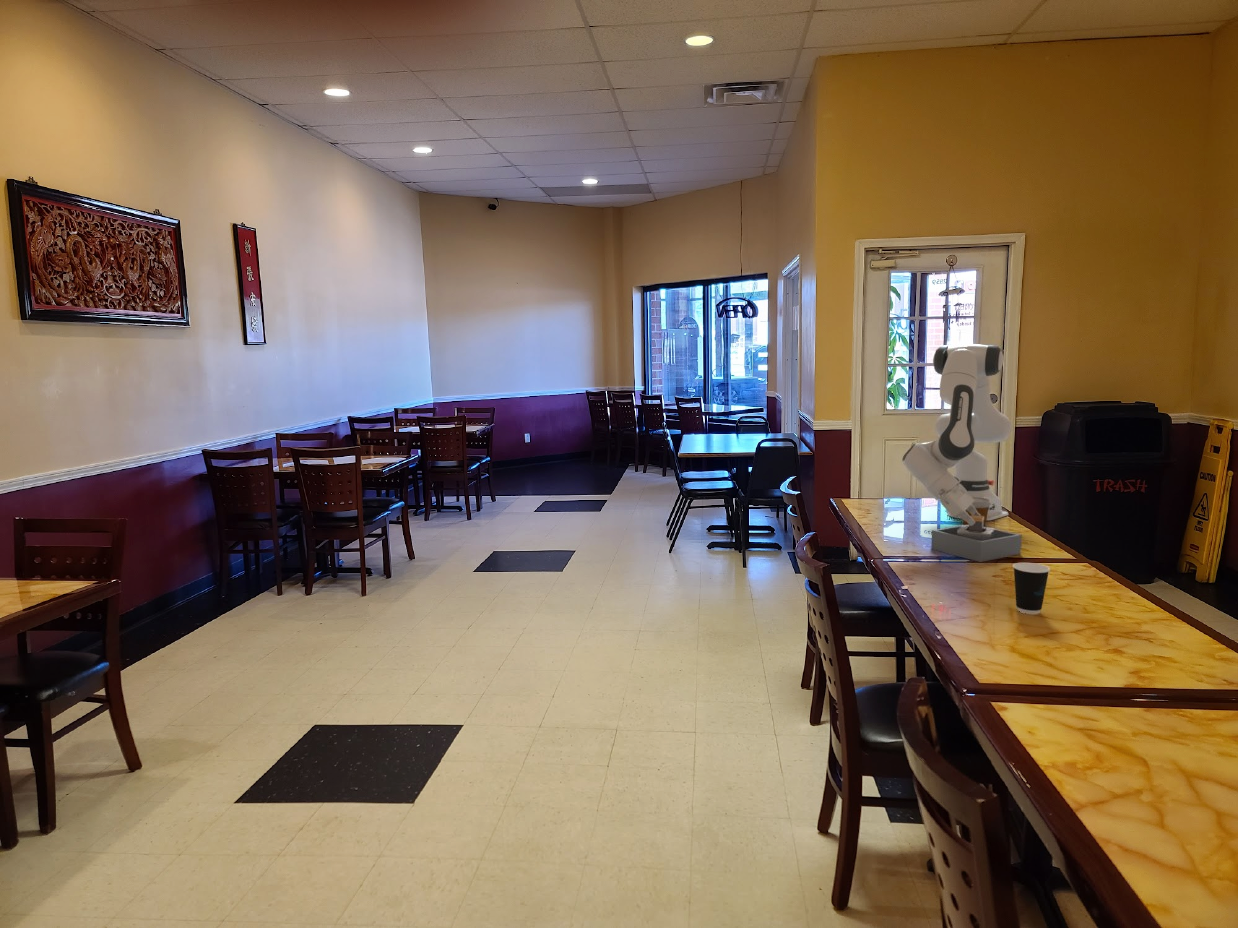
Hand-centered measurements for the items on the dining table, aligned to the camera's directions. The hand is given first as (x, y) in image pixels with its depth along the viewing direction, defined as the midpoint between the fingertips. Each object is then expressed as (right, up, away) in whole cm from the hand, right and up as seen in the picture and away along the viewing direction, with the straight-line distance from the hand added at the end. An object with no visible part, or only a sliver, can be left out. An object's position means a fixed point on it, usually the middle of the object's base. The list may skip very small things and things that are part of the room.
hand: (976, 521), depth 238 cm
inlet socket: (0, -10, +1) cm, 10 cm away
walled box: (0, -10, +1) cm, 10 cm away
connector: (0, -7, +1) cm, 7 cm away
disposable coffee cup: (+10, -6, +24) cm, 27 cm away
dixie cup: (-12, -18, -54) cm, 58 cm away
